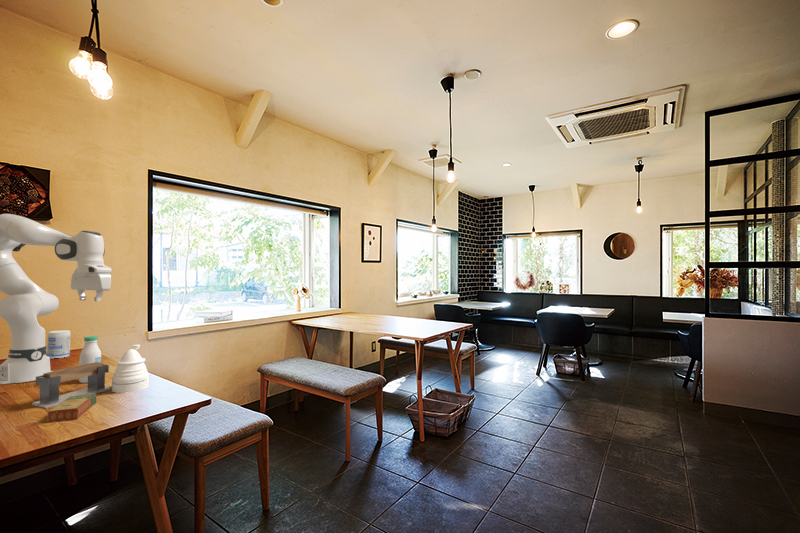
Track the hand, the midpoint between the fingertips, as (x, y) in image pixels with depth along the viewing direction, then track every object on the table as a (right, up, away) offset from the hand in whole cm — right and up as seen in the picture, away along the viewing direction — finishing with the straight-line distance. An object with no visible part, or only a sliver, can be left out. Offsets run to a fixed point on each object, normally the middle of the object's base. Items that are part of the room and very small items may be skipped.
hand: (90, 300), depth 158 cm
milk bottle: (-7, -37, +8) cm, 39 cm away
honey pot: (+18, -38, 0) cm, 42 cm away
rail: (+4, -30, -12) cm, 32 cm away
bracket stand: (+4, -37, -12) cm, 39 cm away
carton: (+17, -38, -27) cm, 50 cm away
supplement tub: (-60, -37, +50) cm, 86 cm away
